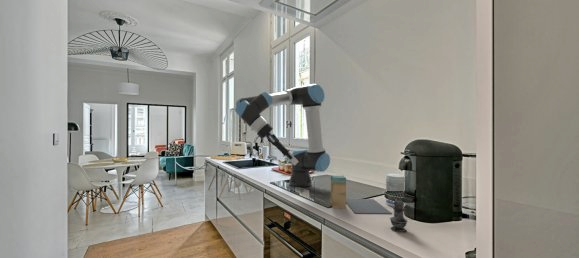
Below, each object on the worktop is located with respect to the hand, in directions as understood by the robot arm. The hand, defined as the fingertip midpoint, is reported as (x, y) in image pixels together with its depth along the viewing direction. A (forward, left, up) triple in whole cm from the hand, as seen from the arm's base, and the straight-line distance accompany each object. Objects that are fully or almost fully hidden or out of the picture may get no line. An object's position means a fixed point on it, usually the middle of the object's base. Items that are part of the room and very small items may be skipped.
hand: (296, 163), depth 116 cm
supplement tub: (-2, +49, -20) cm, 53 cm away
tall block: (0, +20, -20) cm, 28 cm away
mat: (0, +33, -20) cm, 39 cm away
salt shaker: (+28, +36, -20) cm, 50 cm away
